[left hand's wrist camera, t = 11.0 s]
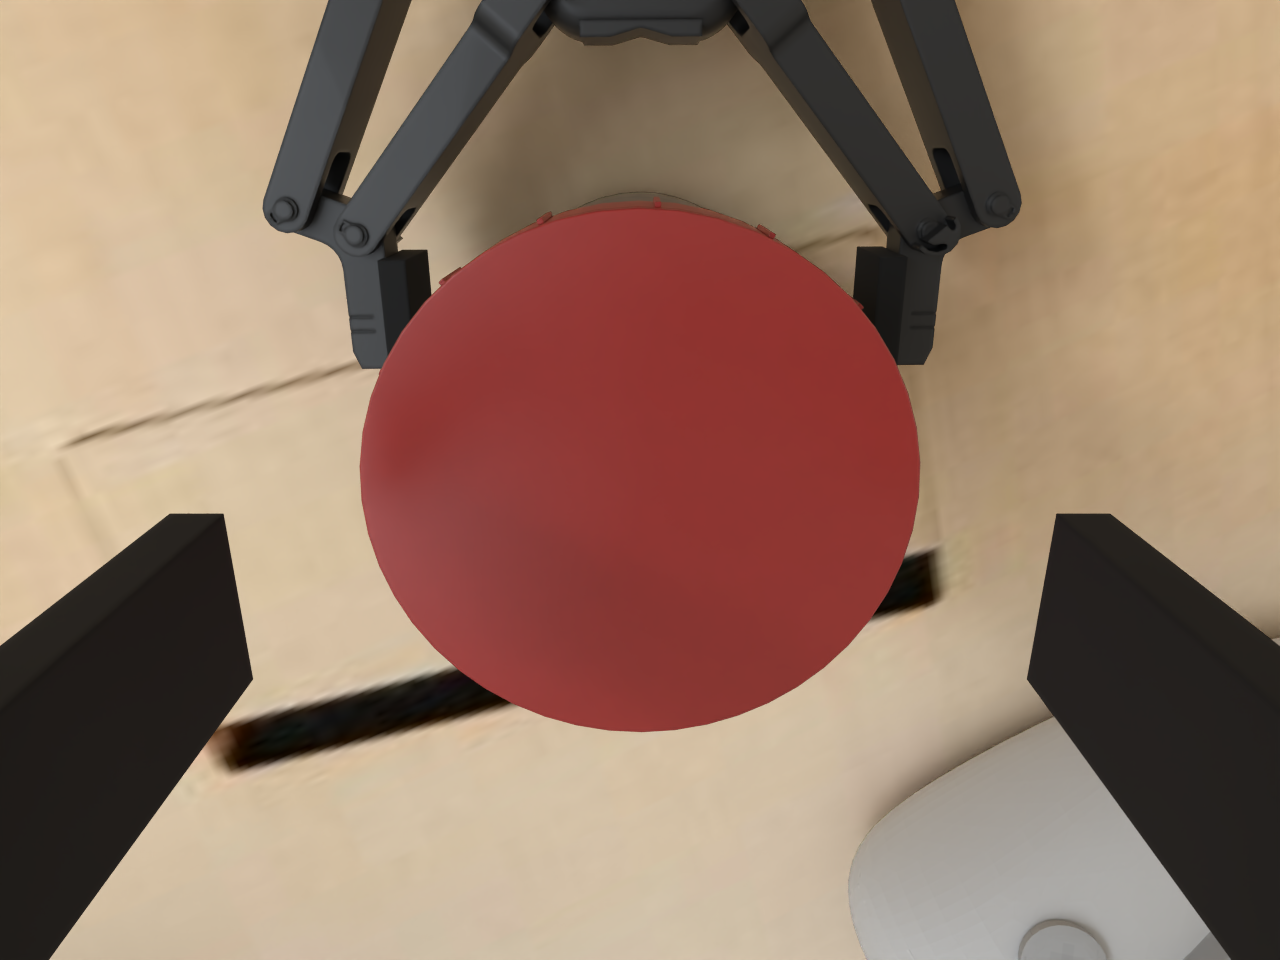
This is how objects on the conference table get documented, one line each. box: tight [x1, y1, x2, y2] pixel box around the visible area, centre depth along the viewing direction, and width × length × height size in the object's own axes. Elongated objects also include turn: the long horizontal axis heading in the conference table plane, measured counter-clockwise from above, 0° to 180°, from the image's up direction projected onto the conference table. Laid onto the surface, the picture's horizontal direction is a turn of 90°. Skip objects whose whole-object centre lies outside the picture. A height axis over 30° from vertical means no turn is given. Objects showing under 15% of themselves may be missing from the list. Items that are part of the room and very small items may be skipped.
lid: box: [360, 197, 920, 732], centre depth 18 cm, size 10×10×2 cm
